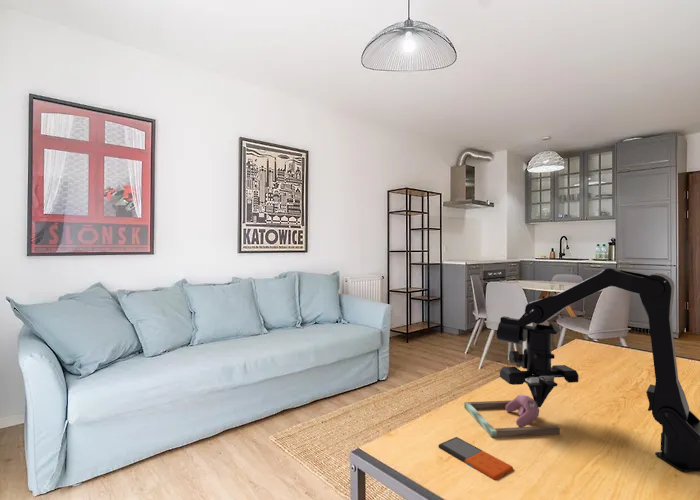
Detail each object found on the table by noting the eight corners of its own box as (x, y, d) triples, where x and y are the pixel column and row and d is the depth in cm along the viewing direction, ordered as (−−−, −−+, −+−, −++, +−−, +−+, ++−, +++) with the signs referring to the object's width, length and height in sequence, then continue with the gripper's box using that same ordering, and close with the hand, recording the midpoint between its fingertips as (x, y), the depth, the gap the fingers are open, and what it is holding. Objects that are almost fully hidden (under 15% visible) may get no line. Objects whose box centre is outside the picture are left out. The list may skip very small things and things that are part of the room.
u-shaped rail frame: (559, 434, 94) (559, 427, 94) (491, 437, 92) (491, 431, 92) (522, 405, 110) (522, 399, 110) (464, 407, 109) (464, 402, 109)
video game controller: (532, 434, 97) (546, 409, 96) (515, 425, 97) (529, 401, 97) (518, 416, 107) (530, 394, 106) (502, 408, 107) (515, 386, 107)
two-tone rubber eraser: (495, 477, 76) (437, 443, 88) (495, 483, 76) (437, 449, 88) (514, 466, 79) (456, 435, 92) (514, 472, 79) (456, 440, 92)
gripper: (553, 339, 111) (552, 393, 111) (490, 340, 109) (490, 395, 109) (580, 350, 100) (579, 410, 100) (511, 352, 98) (510, 413, 98)
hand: (538, 406), depth 102 cm, fingers closed
